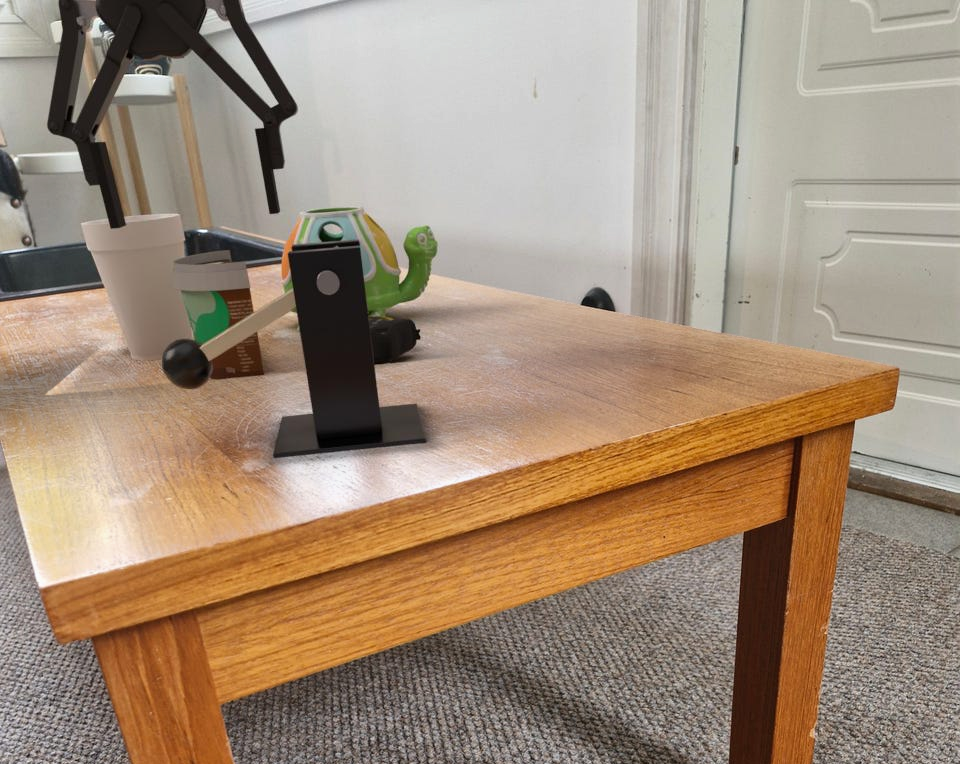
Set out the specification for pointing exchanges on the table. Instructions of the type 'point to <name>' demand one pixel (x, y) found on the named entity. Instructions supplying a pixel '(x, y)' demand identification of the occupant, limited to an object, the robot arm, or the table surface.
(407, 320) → the tape measure
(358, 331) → the bracket
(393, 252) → the turtle holder
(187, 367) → the lever
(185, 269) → the food container
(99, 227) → the foam cup
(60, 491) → the table surface
